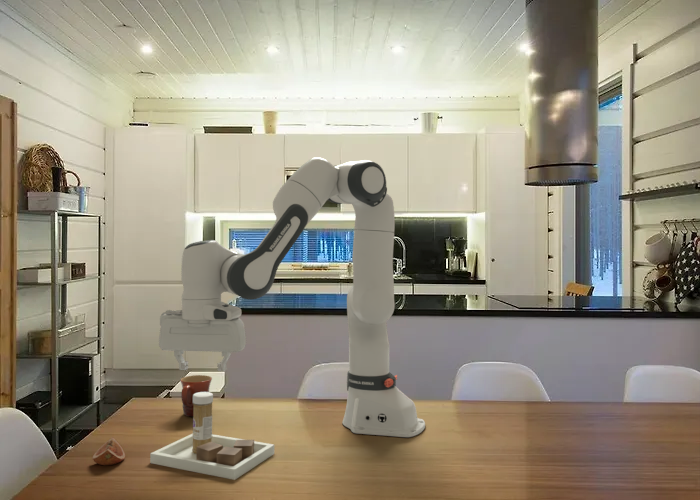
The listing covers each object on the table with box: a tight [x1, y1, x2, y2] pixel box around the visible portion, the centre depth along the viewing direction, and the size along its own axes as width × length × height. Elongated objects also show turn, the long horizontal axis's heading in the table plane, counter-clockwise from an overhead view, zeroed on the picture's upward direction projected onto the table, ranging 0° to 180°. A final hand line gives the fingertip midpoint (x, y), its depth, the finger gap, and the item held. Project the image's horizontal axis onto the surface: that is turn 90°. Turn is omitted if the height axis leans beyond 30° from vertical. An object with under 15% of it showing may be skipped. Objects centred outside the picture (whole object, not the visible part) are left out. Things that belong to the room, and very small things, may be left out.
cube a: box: [217, 447, 242, 466], centre depth 123 cm, size 4×4×4 cm
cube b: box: [196, 442, 223, 463], centre depth 126 cm, size 4×4×4 cm
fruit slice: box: [91, 436, 126, 466], centre depth 127 cm, size 8×7×5 cm
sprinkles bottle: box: [192, 391, 214, 454], centre depth 134 cm, size 5×5×14 cm
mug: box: [180, 374, 213, 418], centre depth 164 cm, size 12×9×10 cm
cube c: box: [234, 439, 255, 461], centre depth 128 cm, size 4×4×4 cm
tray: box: [149, 433, 275, 481], centre depth 130 cm, size 22×16×3 cm
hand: (202, 370), depth 133 cm, fingers open, 8 cm apart
